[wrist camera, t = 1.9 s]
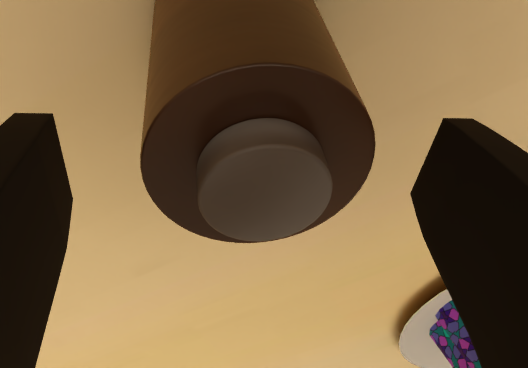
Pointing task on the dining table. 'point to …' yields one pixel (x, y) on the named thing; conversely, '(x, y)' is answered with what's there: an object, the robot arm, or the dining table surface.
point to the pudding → (438, 337)
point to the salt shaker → (250, 119)
